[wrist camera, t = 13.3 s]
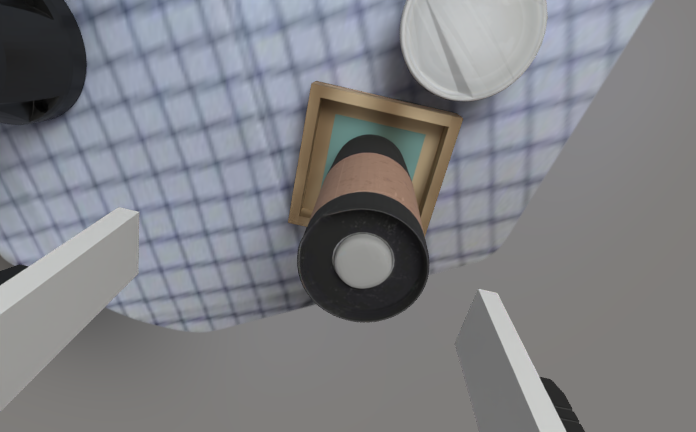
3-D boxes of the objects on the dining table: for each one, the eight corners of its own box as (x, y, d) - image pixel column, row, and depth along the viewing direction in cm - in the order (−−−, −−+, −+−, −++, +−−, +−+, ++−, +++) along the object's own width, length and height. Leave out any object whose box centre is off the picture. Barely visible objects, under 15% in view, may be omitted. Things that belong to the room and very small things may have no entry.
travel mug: (409, 200, 42) (434, 322, 23) (336, 206, 43) (305, 327, 24) (405, 127, 39) (429, 199, 20) (327, 134, 40) (284, 211, 21)
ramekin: (375, 58, 38) (375, 60, 33) (441, -69, 33) (452, -88, 29) (475, 116, 39) (489, 126, 34) (551, 1, 35) (579, -6, 30)
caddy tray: (293, 211, 44) (287, 222, 41) (316, 80, 39) (311, 83, 36) (417, 239, 44) (419, 252, 42) (457, 113, 39) (463, 118, 36)
